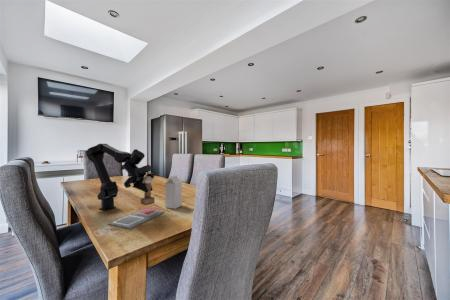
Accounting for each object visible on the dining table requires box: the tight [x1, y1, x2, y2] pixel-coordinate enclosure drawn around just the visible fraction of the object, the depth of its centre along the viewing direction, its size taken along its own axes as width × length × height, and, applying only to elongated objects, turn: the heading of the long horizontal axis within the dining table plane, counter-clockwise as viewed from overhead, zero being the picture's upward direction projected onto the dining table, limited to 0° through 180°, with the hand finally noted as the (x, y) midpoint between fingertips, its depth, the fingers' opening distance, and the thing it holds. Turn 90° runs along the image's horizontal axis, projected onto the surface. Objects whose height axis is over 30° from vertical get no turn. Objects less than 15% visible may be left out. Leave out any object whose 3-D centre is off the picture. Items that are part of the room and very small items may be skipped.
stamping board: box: [107, 208, 165, 230], centre depth 96 cm, size 14×23×2 cm, turn 160°
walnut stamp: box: [140, 175, 155, 206], centre depth 102 cm, size 5×5×15 cm
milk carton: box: [164, 175, 183, 210], centre depth 116 cm, size 7×7×19 cm
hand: (149, 191), depth 101 cm, fingers closed on walnut stamp, 3 cm apart
